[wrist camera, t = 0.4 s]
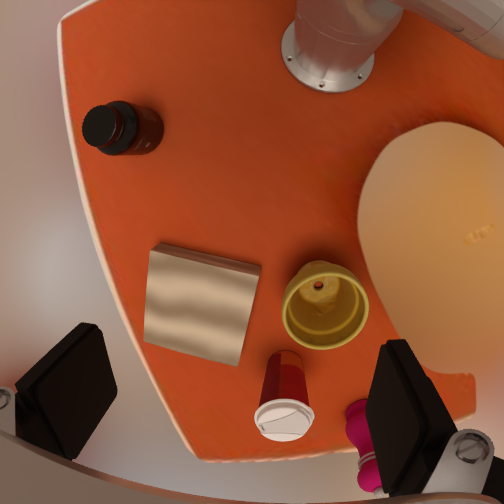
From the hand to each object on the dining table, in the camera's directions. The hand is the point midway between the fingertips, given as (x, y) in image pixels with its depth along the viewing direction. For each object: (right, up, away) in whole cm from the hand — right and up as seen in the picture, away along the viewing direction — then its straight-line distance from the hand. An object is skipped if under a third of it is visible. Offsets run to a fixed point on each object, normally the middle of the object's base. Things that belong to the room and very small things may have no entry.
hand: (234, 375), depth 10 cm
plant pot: (+10, 0, +35) cm, 37 cm away
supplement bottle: (-15, +21, +32) cm, 41 cm away
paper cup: (+6, -14, +40) cm, 43 cm away
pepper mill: (+21, -25, +42) cm, 53 cm away
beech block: (-7, -3, +38) cm, 39 cm away
